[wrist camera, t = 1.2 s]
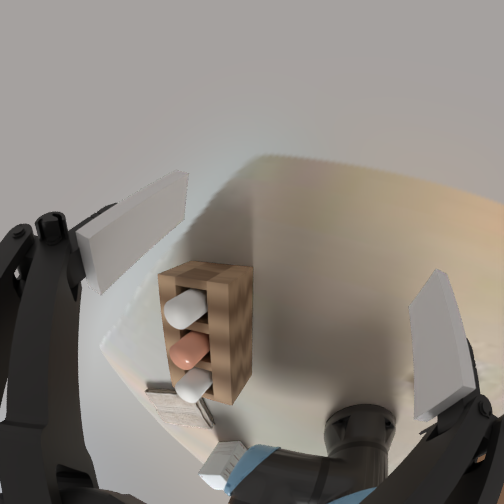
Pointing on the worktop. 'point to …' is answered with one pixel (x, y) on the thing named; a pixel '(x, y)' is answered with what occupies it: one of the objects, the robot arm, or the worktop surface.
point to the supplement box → (221, 463)
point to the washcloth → (180, 409)
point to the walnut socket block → (215, 323)
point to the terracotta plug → (190, 349)
